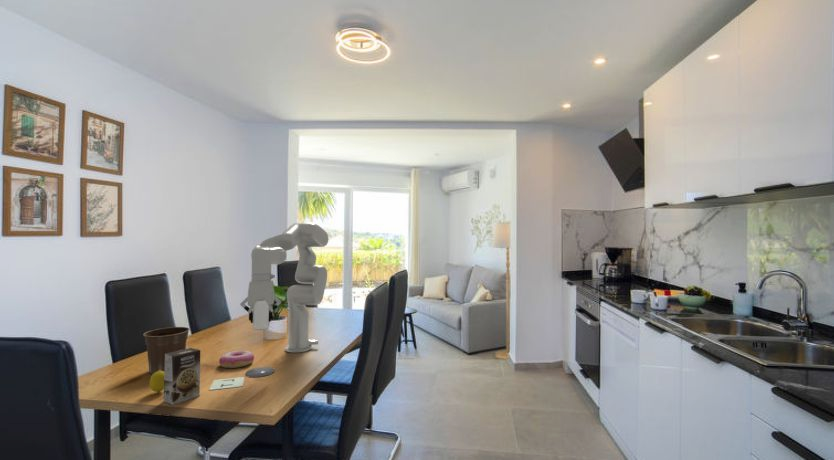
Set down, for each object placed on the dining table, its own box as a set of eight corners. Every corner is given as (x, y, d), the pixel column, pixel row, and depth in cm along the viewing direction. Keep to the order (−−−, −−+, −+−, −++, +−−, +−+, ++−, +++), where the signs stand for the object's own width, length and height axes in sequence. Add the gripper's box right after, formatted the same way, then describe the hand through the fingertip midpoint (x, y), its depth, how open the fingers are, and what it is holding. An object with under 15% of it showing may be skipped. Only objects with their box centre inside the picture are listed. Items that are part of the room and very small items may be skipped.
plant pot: (132, 374, 157) (133, 333, 158) (170, 361, 173) (171, 325, 173) (161, 379, 152) (162, 337, 152) (198, 366, 167) (198, 328, 167)
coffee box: (172, 405, 129) (173, 356, 129) (163, 401, 132) (163, 353, 132) (200, 396, 136) (201, 349, 137) (190, 392, 140) (191, 346, 140)
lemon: (155, 390, 141) (155, 367, 141) (171, 389, 142) (171, 367, 142) (145, 396, 136) (146, 373, 136) (162, 395, 136) (162, 372, 136)
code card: (244, 377, 154) (244, 376, 154) (242, 386, 145) (242, 386, 145) (213, 380, 151) (213, 379, 151) (209, 390, 141) (209, 389, 141)
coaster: (274, 366, 167) (274, 365, 167) (274, 375, 157) (274, 374, 157) (246, 369, 163) (246, 368, 163) (244, 378, 153) (244, 377, 153)
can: (272, 326, 163) (272, 298, 163) (264, 330, 157) (265, 300, 157) (257, 326, 164) (257, 297, 164) (249, 330, 157) (249, 300, 157)
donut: (260, 361, 174) (260, 350, 174) (238, 371, 161) (238, 359, 161) (236, 358, 178) (236, 347, 178) (212, 368, 165) (212, 356, 166)
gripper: (283, 276, 167) (283, 318, 167) (239, 277, 161) (238, 321, 161) (283, 278, 160) (283, 322, 159) (237, 279, 154) (236, 325, 154)
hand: (260, 321), depth 160 cm, fingers closed on can, 6 cm apart
